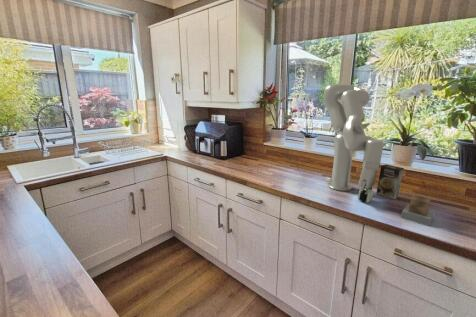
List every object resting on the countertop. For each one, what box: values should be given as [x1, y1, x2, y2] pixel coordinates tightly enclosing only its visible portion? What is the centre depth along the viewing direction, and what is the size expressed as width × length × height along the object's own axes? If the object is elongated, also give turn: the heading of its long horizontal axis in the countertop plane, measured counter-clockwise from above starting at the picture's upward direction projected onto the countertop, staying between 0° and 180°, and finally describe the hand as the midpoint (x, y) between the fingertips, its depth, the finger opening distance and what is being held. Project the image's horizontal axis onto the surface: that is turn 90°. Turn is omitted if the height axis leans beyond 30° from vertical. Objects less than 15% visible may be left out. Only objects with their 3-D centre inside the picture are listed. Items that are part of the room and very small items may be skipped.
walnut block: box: [409, 194, 431, 216], centre depth 109 cm, size 6×6×6 cm
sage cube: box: [357, 189, 374, 204], centre depth 127 cm, size 5×5×5 cm
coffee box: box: [375, 164, 405, 200], centre depth 134 cm, size 9×6×16 cm
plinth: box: [400, 204, 435, 227], centre depth 110 cm, size 10×10×3 cm
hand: (364, 198), depth 128 cm, fingers closed on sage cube, 5 cm apart
